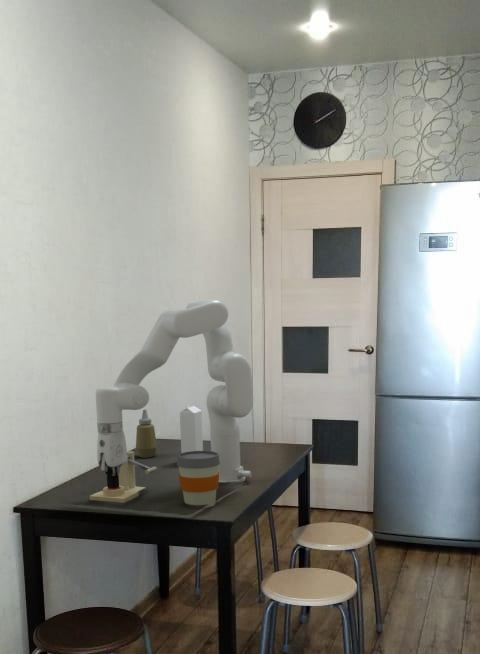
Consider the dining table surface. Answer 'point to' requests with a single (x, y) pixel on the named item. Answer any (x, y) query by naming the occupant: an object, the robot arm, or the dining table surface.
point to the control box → (114, 495)
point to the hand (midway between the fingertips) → (113, 487)
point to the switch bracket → (128, 475)
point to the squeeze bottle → (145, 437)
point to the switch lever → (142, 466)
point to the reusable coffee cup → (199, 477)
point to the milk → (191, 429)
